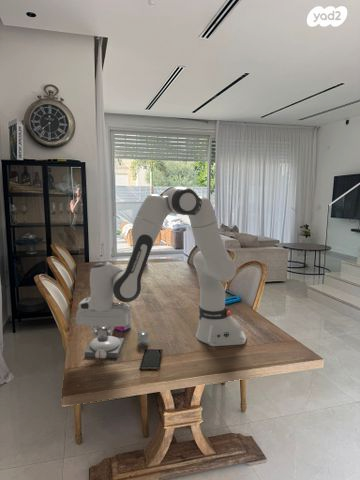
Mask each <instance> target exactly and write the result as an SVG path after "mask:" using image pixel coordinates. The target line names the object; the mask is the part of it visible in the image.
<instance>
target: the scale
mask: <svg viewBox="0 0 360 480" xmlns="http://www.w3.org/2000/svg"><path fill="white" fill-rule="evenodd" d="M124 343H125V338H124V337H117V336H113V335H112V336H108V340H107V341H105V342H99V341H97V336H94V337H93V338H92V339H91V341H90V343H89V345H88V346H87V348H86V349H85V351H84V357H85V358H96V359H106V358H116V359H117V358H118V357H119V355H120V352H121V351H122V348H123V346H124Z"/></svg>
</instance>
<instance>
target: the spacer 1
mask: <svg viewBox="0 0 360 480" xmlns="http://www.w3.org/2000/svg"><path fill="white" fill-rule="evenodd" d="M96 330H97V336H96V337H97V341H99V342H105V341H107V340H108V331H109V326H96Z"/></svg>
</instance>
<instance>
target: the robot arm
mask: <svg viewBox="0 0 360 480" xmlns="http://www.w3.org/2000/svg"><path fill="white" fill-rule="evenodd" d="M170 214H176V215H182V216H187V217H188V219H189V222H190V227H191V231H192V236H193V238H194V239H193V240H194V243H195V245H196V246H197V248H198V249H199V250H198V251H197V252H195V254H194V255H193V259H192V263H193V267H195V271H196V274H197V278H198V284H199V292H200V293H199V294H200V295H199V296H200V297H199V298H200V299H199V306H198V327H197V330H196V334H195V338H196V339H197V340H198V341H200V342H201V343H205V344H207V345H208V346H210V347H223V346H237V345H245V343H246V342H247V336H246V333H245V332H244V331H243V330H242V329H241V325H240V323H239V322H238V320H237V319H235V318H234V317H232V312H231V310H230V309H229V308H228V306H226V289H225V287H224V285H223V282H229V281H231V280H233V279H234V277H235V275H236V273H237V265H236V263H235V261H234V260H233V259H232V257H231V256H230V255H229V254H230V253H229V252H228V250H227V249H226V246H225V244H224V242H223V240H222V237H221V234H220V233H221V232H220V229H219V225H218V221H217V215H216V214H215V209H214V207H213V204H212V202H211V201H210V199H209V198H207V197H205V196H199V195H198V194H197V193H196V192H195V191H194V190H193V189H191V188H190V187H186V186H172V187H168V188H167V189H165V190H164V191H163V192H161V193H160V194H157V193H153V194H152V193H151V194H149V195H147V196H146V197H145V199H144V200H143V202H142V203H141V205H140V207H139V209H138V211H137V214H136V215H135V218H134V221H133V225H132V229H131V236H132V250H131V251H132V252H131V255H130V257H129V260H128V262H127V265H126V268H124V267H122V266H121V267H120V266H118V265H115V264H113V263H112V262H111V261H108V260H107V261H104V260H103V261H100V262H96V263H95V264H93V265H92V266H91V268H90V270H89V272H90V273H89V287H90V296H89V297H85V298H83V299H82V300H81V301H80V302H79V303H78V305H77V308H78V309H77V311H76V315H75V316H76V317H75V318H76V319H75V323H76V324H77V326H89V328H90V330H91V331H92V333H93V334H92V336H94V337H97V328H95V327H99V326H108V327H109V328H110V329H108V336H113V330H115V329H114V327H115V326H123V327H124V326H126V325H127V323H128V315H127V313H128V306H127V305H128V304H126V303H130V302H133V301H135V300H136V299H138V297H139V296H140V295H141V291H142V285H141V284H142V282H141V281H142V276H143V273H144V270H145V268H146V265H147V263H148V260H149V257H150V253H151V251H152V249H153V246H154V244H155V243H156V240H157V238H158V237H159V234H160V233H161V230H162V227H163V225H164V222H165V220H166V218H167V217H168V216H169V215H170ZM114 297H115V299H116V300H118V301H119V302H114ZM124 305H126V306H124Z"/></svg>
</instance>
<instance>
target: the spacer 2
mask: <svg viewBox="0 0 360 480" xmlns="http://www.w3.org/2000/svg"><path fill="white" fill-rule="evenodd" d="M137 346H138V347H140V348H146V347H148V346H149V333H148V331H145V330H144V331H143V330H142V331H139V332H138V333H137Z"/></svg>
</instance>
